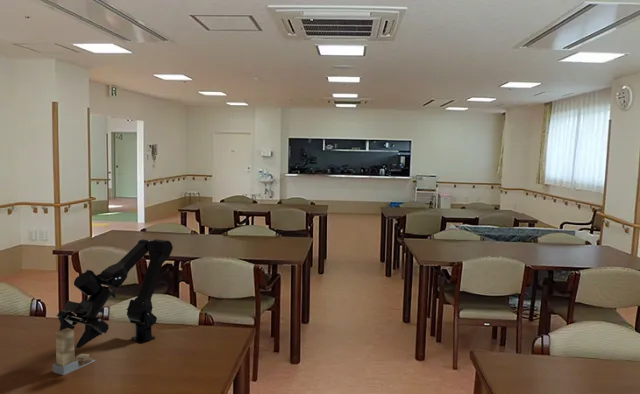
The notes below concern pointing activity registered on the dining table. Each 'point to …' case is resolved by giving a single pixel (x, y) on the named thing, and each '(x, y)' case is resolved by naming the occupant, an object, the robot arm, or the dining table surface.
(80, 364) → the offcut low
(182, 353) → the dining table surface
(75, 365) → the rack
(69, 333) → the tan wooden block
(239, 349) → the dining table surface
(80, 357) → the offcut top
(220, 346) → the dining table surface
